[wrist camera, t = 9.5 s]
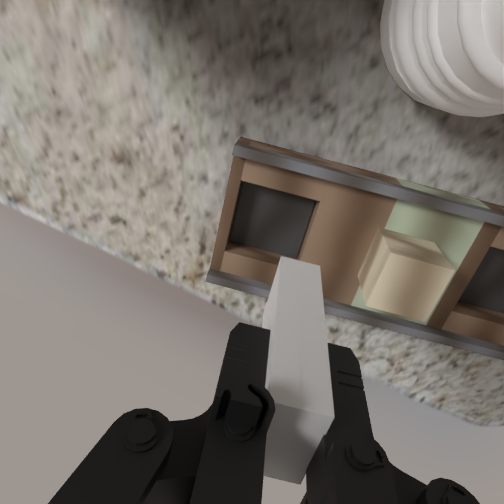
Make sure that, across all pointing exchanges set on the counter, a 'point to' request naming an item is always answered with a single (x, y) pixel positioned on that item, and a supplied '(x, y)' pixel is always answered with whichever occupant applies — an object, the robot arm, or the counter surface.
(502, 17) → the honey pot
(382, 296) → the block
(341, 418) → the robot arm
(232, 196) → the trap track
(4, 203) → the counter surface
